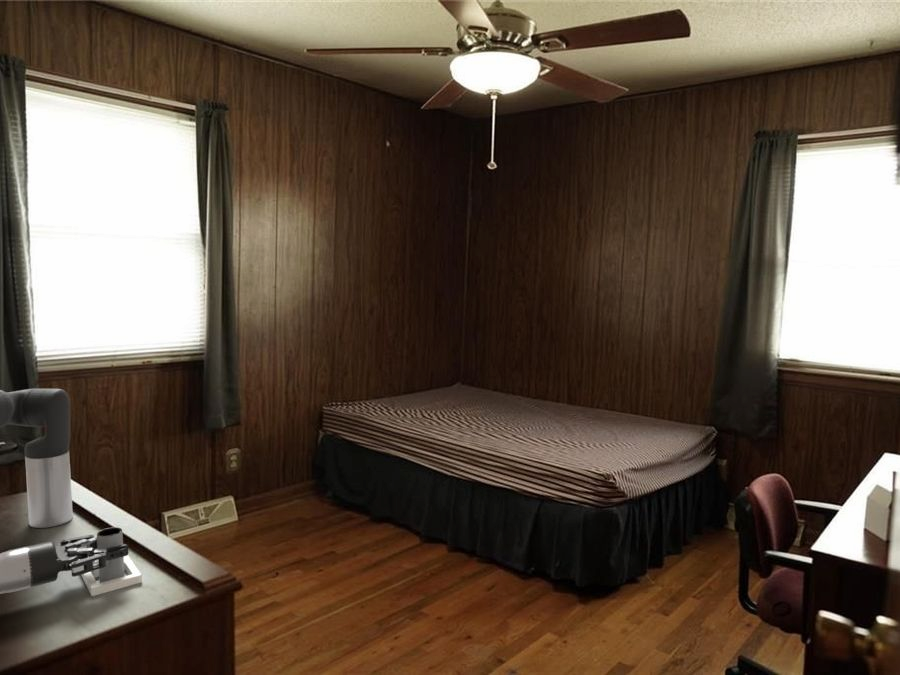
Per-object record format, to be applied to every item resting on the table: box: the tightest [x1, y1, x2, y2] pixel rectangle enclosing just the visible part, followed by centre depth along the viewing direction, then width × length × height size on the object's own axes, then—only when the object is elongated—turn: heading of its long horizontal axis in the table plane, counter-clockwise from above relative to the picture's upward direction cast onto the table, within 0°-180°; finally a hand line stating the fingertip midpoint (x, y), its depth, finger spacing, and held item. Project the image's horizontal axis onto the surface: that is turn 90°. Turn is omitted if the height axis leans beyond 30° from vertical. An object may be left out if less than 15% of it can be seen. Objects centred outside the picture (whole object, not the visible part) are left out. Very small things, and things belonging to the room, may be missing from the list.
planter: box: [96, 526, 125, 583], centre depth 130 cm, size 4×4×10 cm
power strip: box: [80, 554, 143, 597], centre depth 138 cm, size 27×9×2 cm, turn 39°
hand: (123, 544), depth 132 cm, fingers open, 5 cm apart
